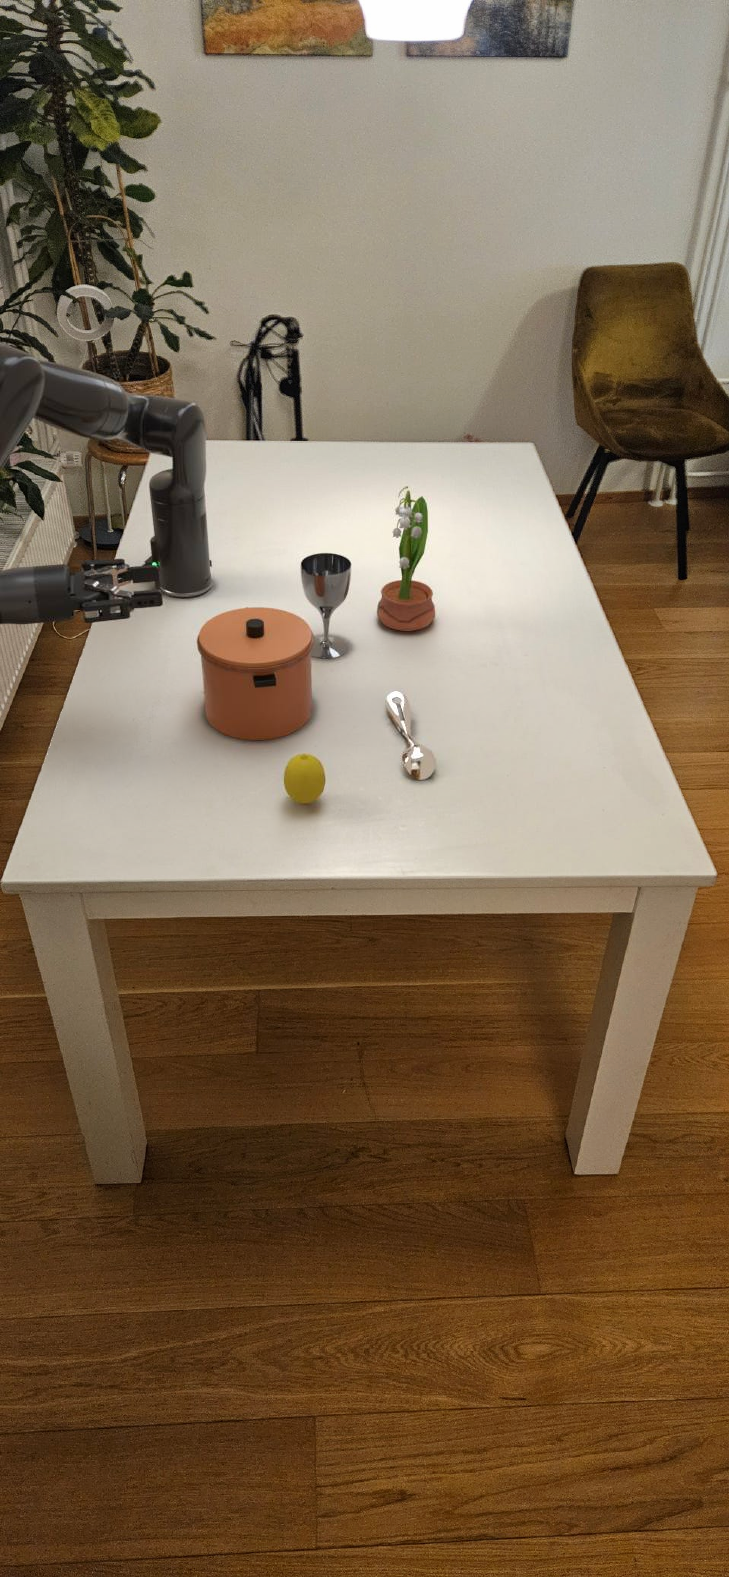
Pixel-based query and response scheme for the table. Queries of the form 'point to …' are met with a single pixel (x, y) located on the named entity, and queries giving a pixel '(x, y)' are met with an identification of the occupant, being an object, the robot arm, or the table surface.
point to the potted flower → (408, 573)
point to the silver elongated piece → (411, 741)
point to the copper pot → (256, 672)
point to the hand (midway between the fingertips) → (160, 585)
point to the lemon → (304, 778)
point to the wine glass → (326, 596)
